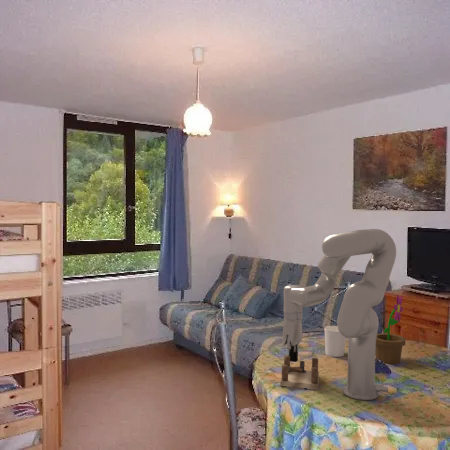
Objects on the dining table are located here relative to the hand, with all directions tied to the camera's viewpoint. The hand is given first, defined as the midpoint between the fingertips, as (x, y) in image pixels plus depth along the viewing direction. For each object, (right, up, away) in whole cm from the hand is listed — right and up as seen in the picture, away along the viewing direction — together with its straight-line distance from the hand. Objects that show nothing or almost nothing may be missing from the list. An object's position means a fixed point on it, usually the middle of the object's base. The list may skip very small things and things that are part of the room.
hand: (293, 360), depth 192 cm
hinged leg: (0, -3, -4) cm, 5 cm away
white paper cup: (+23, -5, +25) cm, 34 cm away
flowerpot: (+44, -5, +18) cm, 48 cm away
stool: (+1, -5, -9) cm, 11 cm away
